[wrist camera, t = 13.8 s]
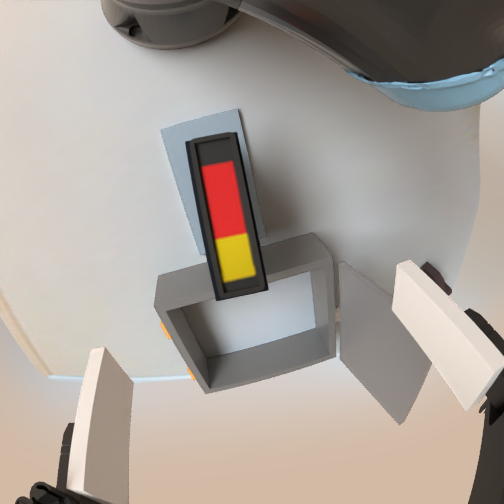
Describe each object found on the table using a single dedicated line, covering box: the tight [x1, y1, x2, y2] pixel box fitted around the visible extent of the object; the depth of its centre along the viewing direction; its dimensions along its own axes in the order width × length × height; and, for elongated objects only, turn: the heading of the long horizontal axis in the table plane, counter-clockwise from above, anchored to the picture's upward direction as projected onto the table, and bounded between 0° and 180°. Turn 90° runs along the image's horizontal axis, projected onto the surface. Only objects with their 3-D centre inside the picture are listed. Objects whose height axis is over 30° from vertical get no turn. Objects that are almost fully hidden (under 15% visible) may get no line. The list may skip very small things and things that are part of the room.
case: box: [154, 233, 340, 394], centre depth 34 cm, size 18×25×16 cm
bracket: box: [420, 262, 452, 296], centre depth 43 cm, size 6×12×5 cm, turn 125°
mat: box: [161, 109, 266, 255], centre depth 31 cm, size 15×8×1 cm, turn 12°
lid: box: [338, 261, 432, 425], centre depth 29 cm, size 17×14×1 cm
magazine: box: [185, 132, 269, 301], centre depth 26 cm, size 4×13×15 cm, turn 7°
